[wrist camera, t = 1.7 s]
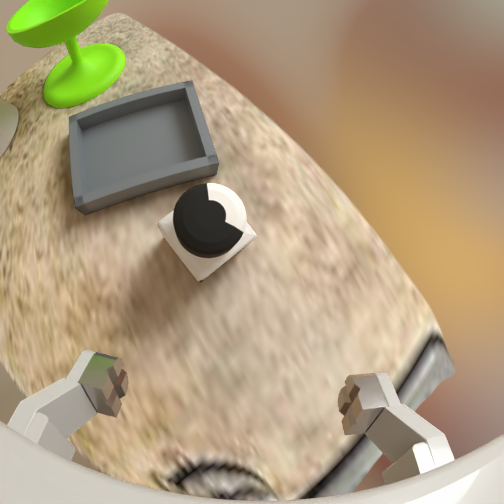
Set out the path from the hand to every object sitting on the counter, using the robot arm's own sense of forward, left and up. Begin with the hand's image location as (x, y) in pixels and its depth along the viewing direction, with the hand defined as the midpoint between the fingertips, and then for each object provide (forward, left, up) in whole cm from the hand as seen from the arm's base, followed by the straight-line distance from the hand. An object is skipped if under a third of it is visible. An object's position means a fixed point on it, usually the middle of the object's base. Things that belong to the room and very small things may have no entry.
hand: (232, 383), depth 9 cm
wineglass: (-10, +44, -24) cm, 51 cm away
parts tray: (-2, +24, -24) cm, 34 cm away
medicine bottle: (+3, +9, -24) cm, 26 cm away
